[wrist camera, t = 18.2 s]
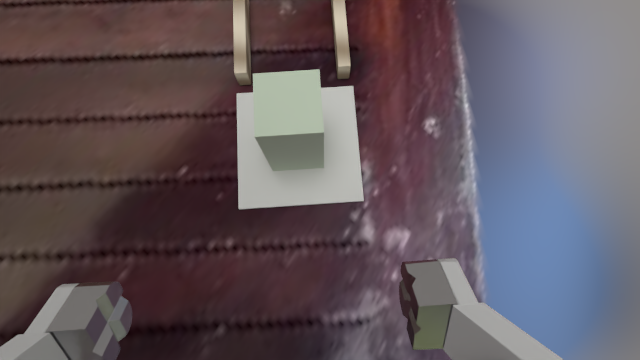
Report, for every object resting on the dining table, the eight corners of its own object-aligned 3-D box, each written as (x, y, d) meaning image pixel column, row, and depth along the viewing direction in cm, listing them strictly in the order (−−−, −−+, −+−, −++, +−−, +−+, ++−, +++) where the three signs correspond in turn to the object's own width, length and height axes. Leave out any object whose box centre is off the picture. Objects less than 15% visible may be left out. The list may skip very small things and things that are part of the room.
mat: (363, 201, 36) (363, 200, 36) (239, 209, 36) (238, 209, 36) (352, 87, 39) (353, 85, 39) (237, 94, 39) (236, 93, 39)
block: (324, 167, 37) (323, 132, 27) (272, 171, 37) (254, 137, 27) (320, 119, 38) (319, 69, 28) (271, 123, 38) (252, 73, 28)
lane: (349, 78, 39) (350, 65, 37) (239, 85, 39) (234, 73, 37) (337, -52, 43) (338, -71, 41) (237, -45, 43) (232, -64, 40)
